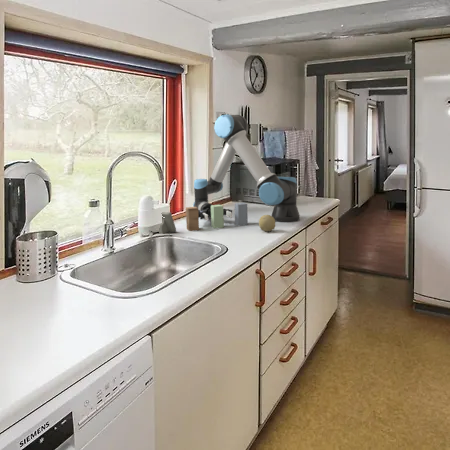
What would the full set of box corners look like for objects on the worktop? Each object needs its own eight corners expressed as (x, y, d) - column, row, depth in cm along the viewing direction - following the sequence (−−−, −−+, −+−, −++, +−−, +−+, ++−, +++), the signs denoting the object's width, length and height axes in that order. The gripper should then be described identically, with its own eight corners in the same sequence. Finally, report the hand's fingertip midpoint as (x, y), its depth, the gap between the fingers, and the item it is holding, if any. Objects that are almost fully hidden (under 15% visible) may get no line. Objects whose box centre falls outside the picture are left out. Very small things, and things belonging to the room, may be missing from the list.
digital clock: (178, 232, 216) (176, 210, 214) (163, 235, 210) (162, 213, 207) (157, 227, 227) (156, 207, 225) (143, 230, 221) (142, 210, 219)
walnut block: (186, 229, 222) (185, 207, 220) (196, 228, 224) (195, 206, 221) (189, 231, 217) (188, 209, 215) (199, 230, 219) (198, 208, 217)
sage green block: (211, 226, 226) (210, 205, 224) (220, 225, 228) (219, 204, 225) (214, 228, 221) (213, 206, 219) (223, 227, 223) (223, 206, 221)
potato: (258, 229, 216) (258, 213, 214) (274, 229, 215) (274, 213, 214) (259, 233, 208) (259, 216, 207) (275, 233, 208) (275, 216, 206)
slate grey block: (235, 224, 230) (234, 203, 228) (244, 223, 232) (243, 202, 230) (238, 225, 226) (238, 204, 223) (247, 224, 227) (247, 203, 225)
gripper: (227, 214, 245) (242, 221, 225) (185, 218, 237) (196, 226, 217) (227, 201, 243) (241, 207, 223) (184, 204, 235) (195, 211, 215)
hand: (219, 216), depth 220 cm, fingers open, 12 cm apart
